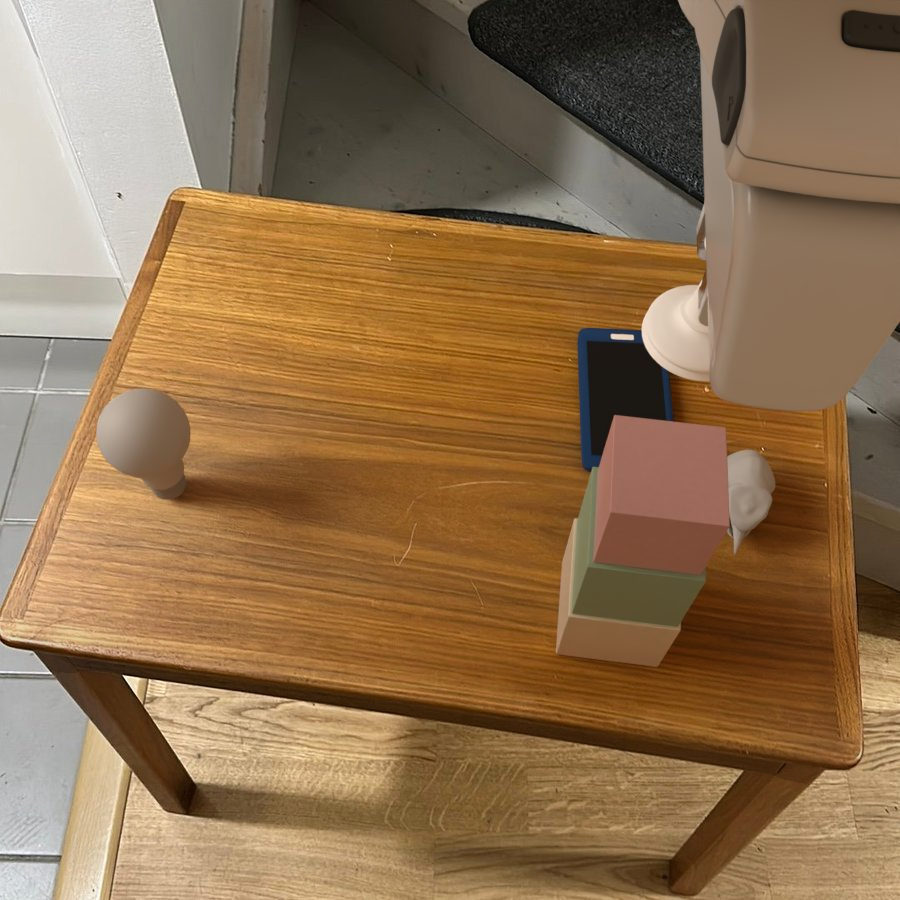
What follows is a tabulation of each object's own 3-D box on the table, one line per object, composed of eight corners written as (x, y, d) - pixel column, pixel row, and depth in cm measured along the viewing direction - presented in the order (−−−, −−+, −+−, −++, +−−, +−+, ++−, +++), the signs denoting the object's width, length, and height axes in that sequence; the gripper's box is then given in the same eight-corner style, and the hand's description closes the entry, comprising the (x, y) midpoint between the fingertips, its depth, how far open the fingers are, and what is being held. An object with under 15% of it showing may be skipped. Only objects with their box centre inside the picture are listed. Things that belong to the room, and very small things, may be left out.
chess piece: (674, 277, 42) (734, 89, 34) (773, 327, 41) (861, 143, 32) (620, 346, 40) (669, 164, 32) (722, 401, 39) (803, 226, 30)
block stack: (555, 654, 63) (600, 519, 46) (561, 562, 67) (605, 405, 50) (657, 667, 63) (740, 536, 46) (658, 574, 67) (735, 420, 50)
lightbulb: (122, 471, 70) (75, 387, 61) (201, 445, 72) (166, 359, 62) (141, 537, 68) (94, 459, 58) (222, 509, 69) (189, 428, 60)
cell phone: (663, 335, 78) (665, 330, 77) (677, 477, 71) (679, 472, 70) (576, 331, 78) (577, 325, 78) (581, 473, 71) (582, 468, 70)
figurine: (764, 477, 71) (785, 444, 67) (755, 569, 67) (776, 539, 63) (714, 466, 72) (732, 432, 67) (702, 557, 67) (720, 526, 63)
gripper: (719, -237, 31) (642, 107, 43) (747, 181, 21) (634, 487, 32) (909, -224, 31) (779, 119, 43) (1038, 208, 20) (817, 507, 32)
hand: (717, 281), depth 37 cm, fingers closed on chess piece
